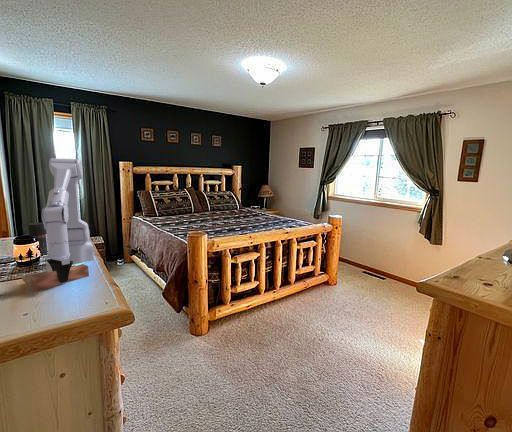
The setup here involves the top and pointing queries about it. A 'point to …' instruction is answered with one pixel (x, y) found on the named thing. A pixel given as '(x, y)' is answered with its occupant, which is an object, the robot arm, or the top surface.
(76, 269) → the reddish brown wooden block
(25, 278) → the base board
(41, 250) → the deodorant
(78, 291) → the top surface
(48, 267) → the ridge
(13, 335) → the top surface
